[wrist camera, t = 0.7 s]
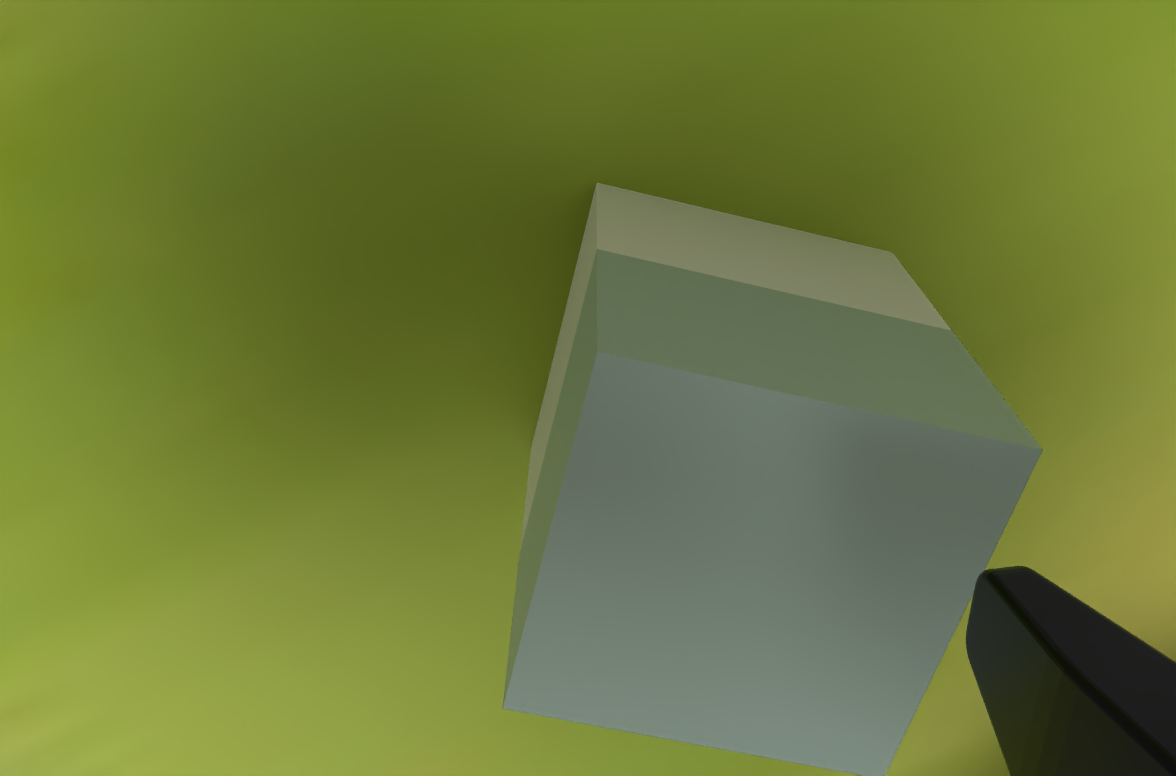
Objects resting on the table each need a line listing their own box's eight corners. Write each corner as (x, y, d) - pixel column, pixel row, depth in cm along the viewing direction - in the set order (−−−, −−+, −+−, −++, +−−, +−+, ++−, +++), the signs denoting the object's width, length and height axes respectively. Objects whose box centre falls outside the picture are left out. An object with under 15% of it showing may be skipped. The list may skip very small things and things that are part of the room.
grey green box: (891, 251, 21) (1043, 449, 14) (796, 503, 24) (883, 779, 17) (596, 181, 21) (596, 351, 14) (531, 447, 23) (502, 708, 16)
